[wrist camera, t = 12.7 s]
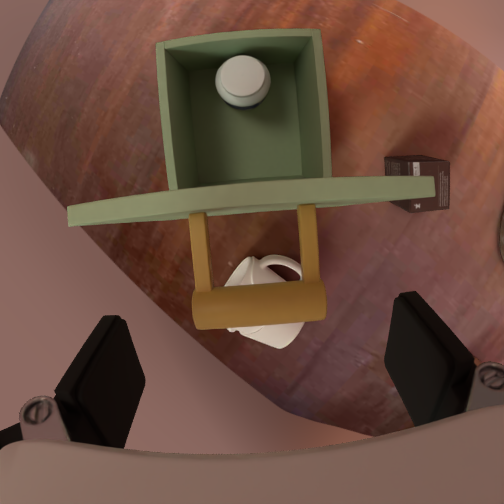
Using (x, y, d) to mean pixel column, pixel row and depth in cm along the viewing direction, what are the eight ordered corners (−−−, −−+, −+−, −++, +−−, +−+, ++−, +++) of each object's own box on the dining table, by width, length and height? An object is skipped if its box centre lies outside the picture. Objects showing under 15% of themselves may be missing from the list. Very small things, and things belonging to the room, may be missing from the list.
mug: (268, 329, 46) (271, 364, 39) (213, 300, 45) (207, 333, 37) (317, 267, 43) (331, 295, 35) (260, 231, 41) (263, 254, 34)
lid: (66, 206, 11) (88, 350, 11) (434, 175, 10) (435, 322, 11) (171, 210, 27) (177, 276, 28) (333, 197, 27) (337, 263, 27)
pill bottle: (265, 112, 35) (271, 106, 26) (219, 110, 35) (209, 102, 26) (268, 70, 33) (275, 50, 24) (222, 67, 33) (214, 46, 24)
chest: (182, 68, 33) (155, 42, 22) (298, 58, 33) (320, 28, 21) (194, 189, 39) (172, 213, 27) (307, 180, 39) (332, 200, 27)
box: (421, 197, 39) (450, 210, 33) (384, 200, 40) (409, 214, 33) (421, 154, 37) (450, 160, 30) (383, 155, 37) (409, 161, 31)
